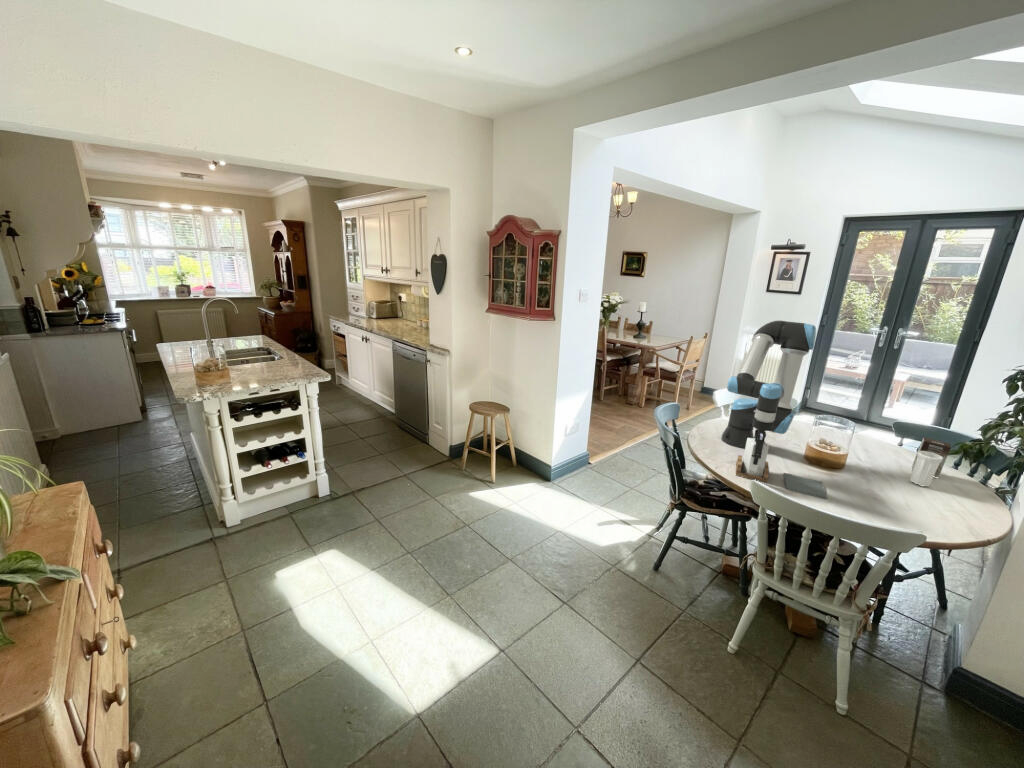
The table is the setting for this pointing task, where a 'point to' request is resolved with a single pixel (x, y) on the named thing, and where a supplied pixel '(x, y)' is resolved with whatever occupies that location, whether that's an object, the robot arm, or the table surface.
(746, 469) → the skincare box
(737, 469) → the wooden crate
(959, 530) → the table surface
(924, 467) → the cup
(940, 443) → the coffee box
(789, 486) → the plate
